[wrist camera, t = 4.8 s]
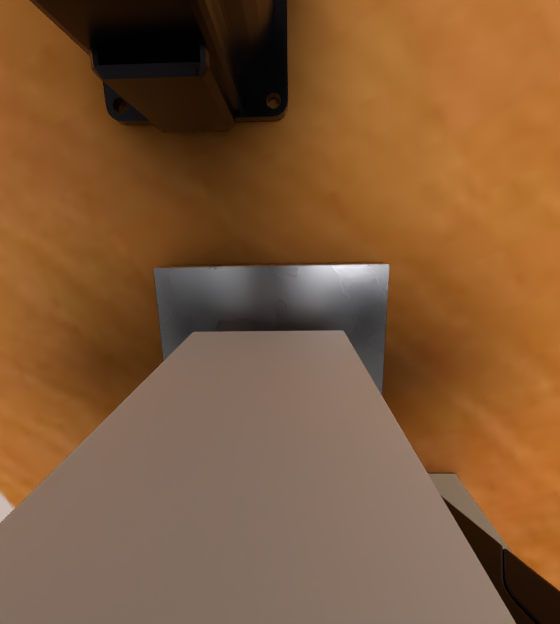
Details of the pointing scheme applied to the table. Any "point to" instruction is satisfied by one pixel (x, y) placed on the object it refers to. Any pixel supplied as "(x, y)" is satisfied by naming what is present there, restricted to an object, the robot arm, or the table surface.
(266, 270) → the stud plate
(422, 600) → the grey tall block
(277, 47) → the robot arm
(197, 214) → the table surface
